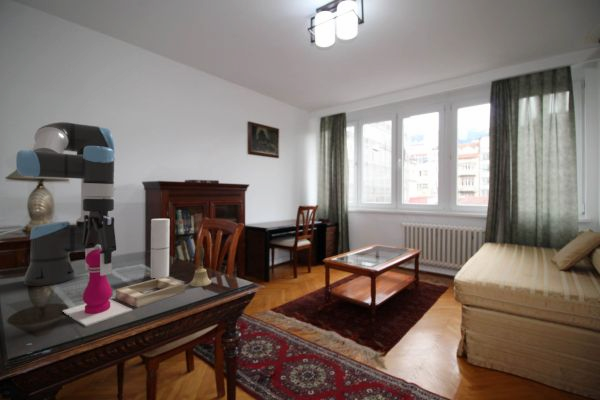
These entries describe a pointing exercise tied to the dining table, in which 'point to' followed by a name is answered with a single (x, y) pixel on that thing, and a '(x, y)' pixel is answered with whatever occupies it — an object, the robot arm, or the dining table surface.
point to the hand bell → (200, 271)
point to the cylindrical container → (160, 248)
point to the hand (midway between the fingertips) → (98, 271)
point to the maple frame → (138, 299)
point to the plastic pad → (90, 319)
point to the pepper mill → (96, 285)
